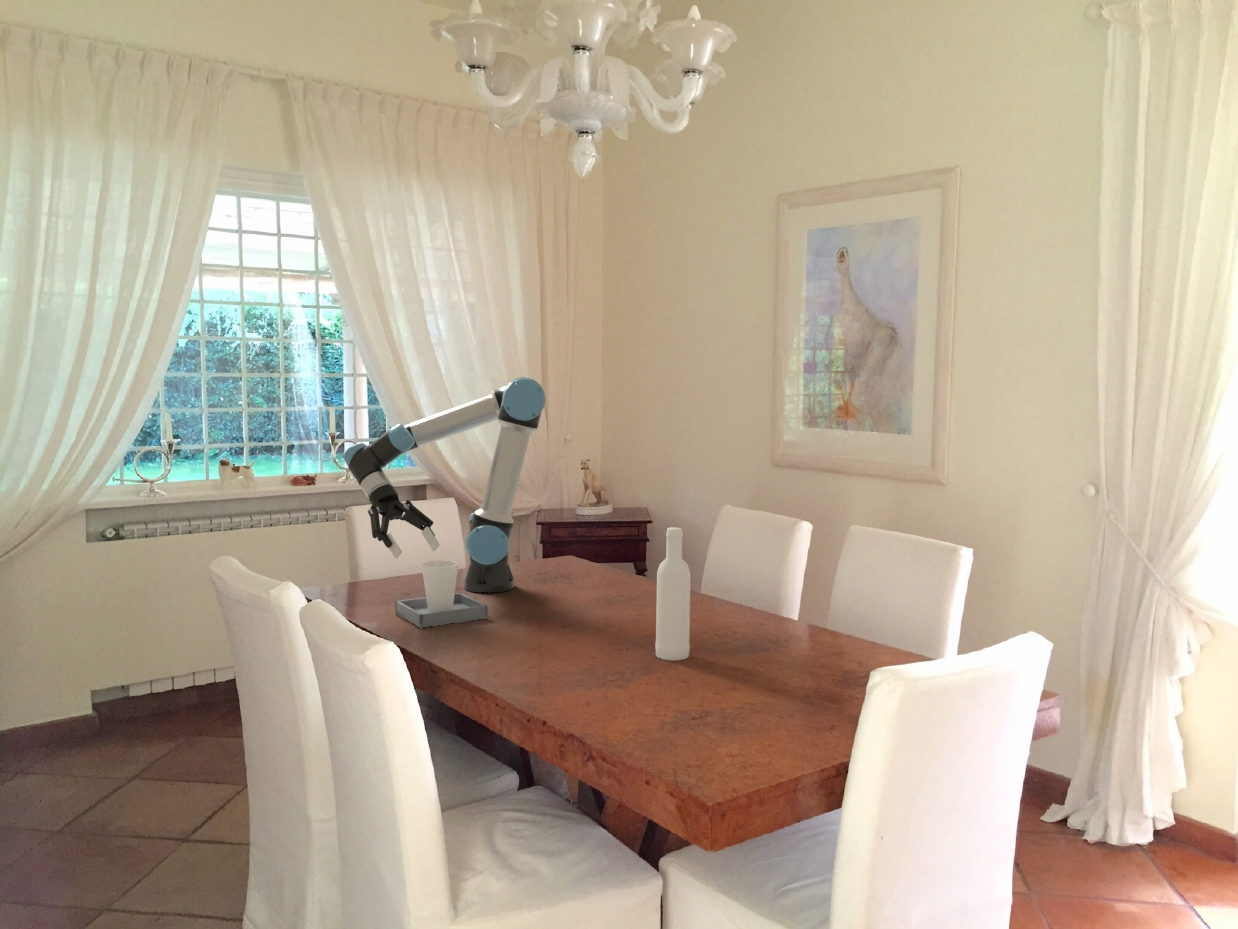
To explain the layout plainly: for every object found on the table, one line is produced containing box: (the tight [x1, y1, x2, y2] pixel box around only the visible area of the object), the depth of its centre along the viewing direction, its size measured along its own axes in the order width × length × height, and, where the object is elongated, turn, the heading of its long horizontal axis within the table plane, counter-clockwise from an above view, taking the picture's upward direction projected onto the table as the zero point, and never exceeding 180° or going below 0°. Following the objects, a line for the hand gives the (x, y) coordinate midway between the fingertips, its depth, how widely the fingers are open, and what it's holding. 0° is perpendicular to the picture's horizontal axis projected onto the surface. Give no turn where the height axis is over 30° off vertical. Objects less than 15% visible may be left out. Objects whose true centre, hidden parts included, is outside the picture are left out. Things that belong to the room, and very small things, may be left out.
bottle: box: [654, 526, 692, 662], centre depth 221 cm, size 8×8×30 cm
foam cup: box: [421, 559, 459, 613], centre depth 255 cm, size 10×9×13 cm
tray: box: [394, 592, 489, 628], centre depth 255 cm, size 19×17×4 cm
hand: (418, 551), depth 259 cm, fingers open, 13 cm apart
